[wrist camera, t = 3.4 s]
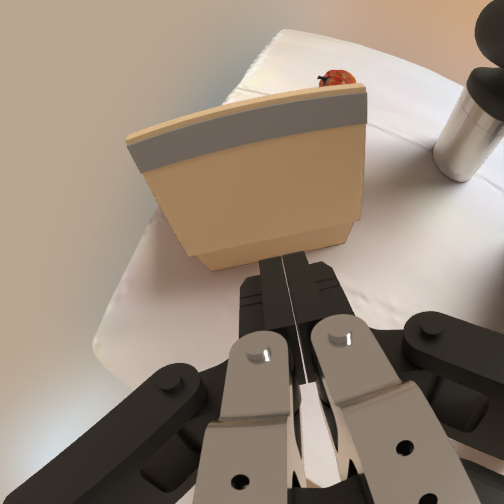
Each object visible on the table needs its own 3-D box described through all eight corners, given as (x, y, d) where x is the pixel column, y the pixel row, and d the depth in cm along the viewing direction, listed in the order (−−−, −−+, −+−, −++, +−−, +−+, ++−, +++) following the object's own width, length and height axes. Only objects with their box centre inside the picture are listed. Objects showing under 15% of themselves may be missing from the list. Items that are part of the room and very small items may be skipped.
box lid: (357, 214, 33) (360, 221, 33) (188, 250, 35) (188, 258, 34) (361, 82, 21) (367, 87, 20) (127, 135, 22) (124, 141, 22)
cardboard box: (345, 242, 43) (357, 214, 33) (211, 271, 44) (188, 250, 35) (316, 154, 48) (318, 113, 39) (200, 179, 50) (180, 144, 40)
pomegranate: (346, 95, 54) (308, 70, 50) (370, 81, 48) (332, 52, 44) (344, 121, 53) (304, 96, 49) (371, 108, 47) (329, 78, 42)
